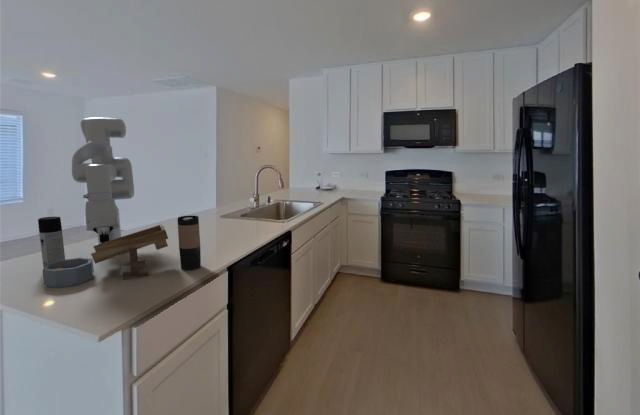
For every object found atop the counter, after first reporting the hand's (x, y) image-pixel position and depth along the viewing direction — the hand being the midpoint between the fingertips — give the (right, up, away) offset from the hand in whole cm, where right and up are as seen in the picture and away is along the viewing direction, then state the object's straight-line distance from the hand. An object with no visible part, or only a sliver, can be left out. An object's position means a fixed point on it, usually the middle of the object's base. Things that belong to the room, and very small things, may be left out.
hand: (104, 243), depth 126 cm
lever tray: (+12, -3, 0) cm, 12 cm away
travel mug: (+33, -10, +1) cm, 35 cm away
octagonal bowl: (-3, -11, -13) cm, 17 cm away
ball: (-6, -9, -15) cm, 18 cm away
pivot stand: (+13, -10, -3) cm, 17 cm away
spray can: (-18, -10, -2) cm, 20 cm away
